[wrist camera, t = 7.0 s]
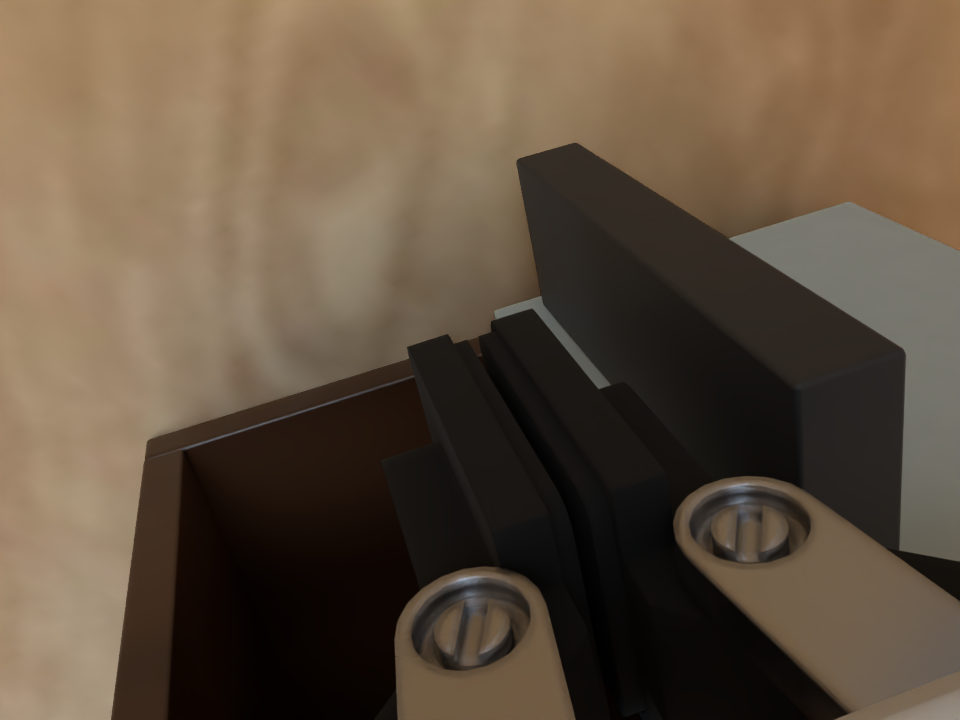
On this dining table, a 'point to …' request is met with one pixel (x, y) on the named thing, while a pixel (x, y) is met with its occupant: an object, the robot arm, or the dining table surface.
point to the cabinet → (274, 560)
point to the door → (765, 340)
